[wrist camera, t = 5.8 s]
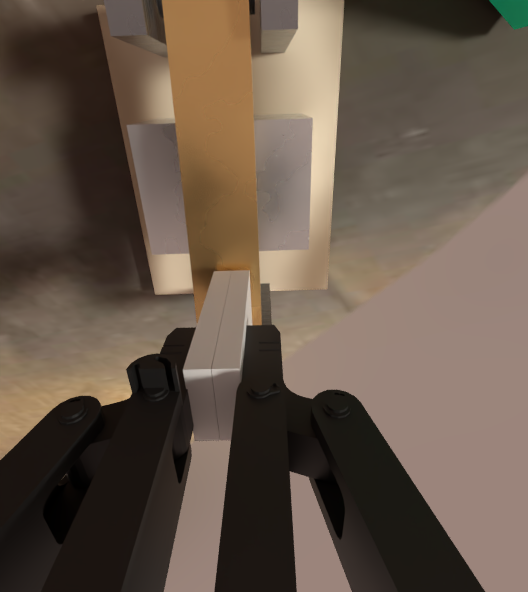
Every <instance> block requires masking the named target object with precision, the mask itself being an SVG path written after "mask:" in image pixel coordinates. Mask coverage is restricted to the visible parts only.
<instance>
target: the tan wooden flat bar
mask: <svg viewBox="0 0 528 592" xmlns="http://www.w3.org/2000/svg"><path fill="white" fill-rule="evenodd" d="M156 2H157V7H158V11H159V14H160V16H161V18H164V25H165V34H166V43H167V52H168V62H169V71H170V80H171V89H172V98H173V108H174V117H175V126H176V135H177V144H178V154H179V163H180V172H181V181H182V191H183V200H184V209H185V218H186V227H187V237H188V246H189V255H190V264H191V273H192V283H193V292H194V301H195V310H196V319H197V323H198V320H199V317H200V314H201V311H202V307H203V304H204V301H205V298H206V295H207V292H208V288H209V285H210V282H211V279H212V276H213V273H214V271H240V270H250V289H251V308H252V325H262V311H261V285H260V260H259V234H258V208H257V183H256V157H255V132H254V106H253V80H252V55H251V29H250V15H253V14H255V0H156Z"/></svg>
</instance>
